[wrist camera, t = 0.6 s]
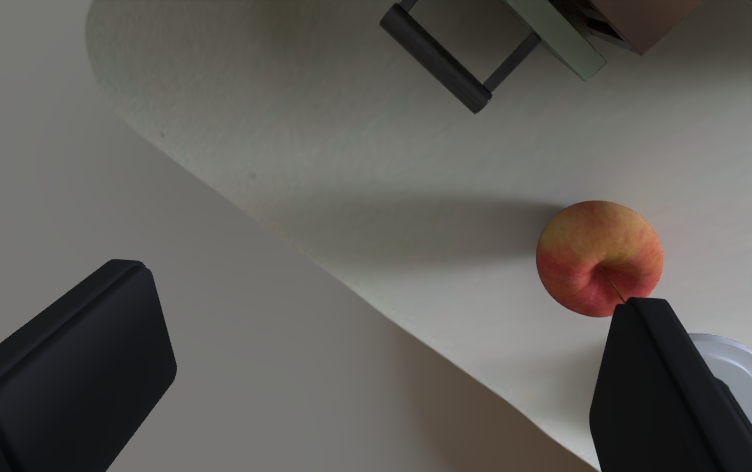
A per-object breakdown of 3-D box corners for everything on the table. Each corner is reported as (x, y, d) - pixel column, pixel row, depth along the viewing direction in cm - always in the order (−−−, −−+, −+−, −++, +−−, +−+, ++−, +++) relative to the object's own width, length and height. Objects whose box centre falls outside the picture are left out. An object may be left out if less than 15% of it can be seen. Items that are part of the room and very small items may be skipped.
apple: (584, 160, 33) (615, 209, 26) (663, 224, 34) (713, 286, 27) (508, 235, 36) (517, 296, 29) (582, 290, 37) (608, 362, 30)
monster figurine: (573, 393, 42) (601, 505, 33) (695, 306, 36) (769, 414, 27) (674, 464, 43) (727, 589, 35) (805, 392, 38) (909, 519, 29)
